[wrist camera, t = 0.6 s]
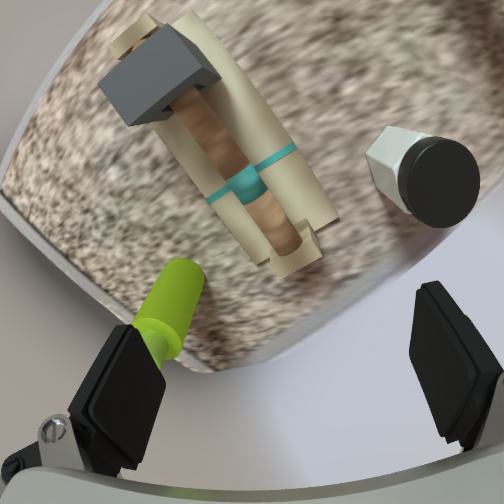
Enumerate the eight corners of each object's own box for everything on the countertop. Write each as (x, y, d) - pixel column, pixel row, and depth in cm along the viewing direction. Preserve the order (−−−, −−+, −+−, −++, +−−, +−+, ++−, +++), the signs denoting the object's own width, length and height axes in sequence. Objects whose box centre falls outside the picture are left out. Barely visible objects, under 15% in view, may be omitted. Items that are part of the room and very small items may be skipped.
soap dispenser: (160, 294, 44) (106, 402, 26) (166, 253, 41) (101, 358, 23) (199, 305, 44) (162, 421, 26) (208, 264, 41) (166, 380, 23)
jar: (358, 186, 36) (393, 222, 25) (370, 120, 32) (412, 128, 21) (422, 198, 35) (470, 236, 25) (434, 137, 32) (491, 154, 21)
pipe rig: (194, 11, 27) (176, -9, 21) (338, 214, 37) (352, 239, 30) (115, 74, 31) (83, 70, 24) (256, 262, 41) (252, 294, 34)
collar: (196, 44, 28) (167, 23, 19) (222, 78, 29) (202, 66, 20) (141, 87, 30) (97, 83, 21) (166, 119, 31) (128, 126, 22)
